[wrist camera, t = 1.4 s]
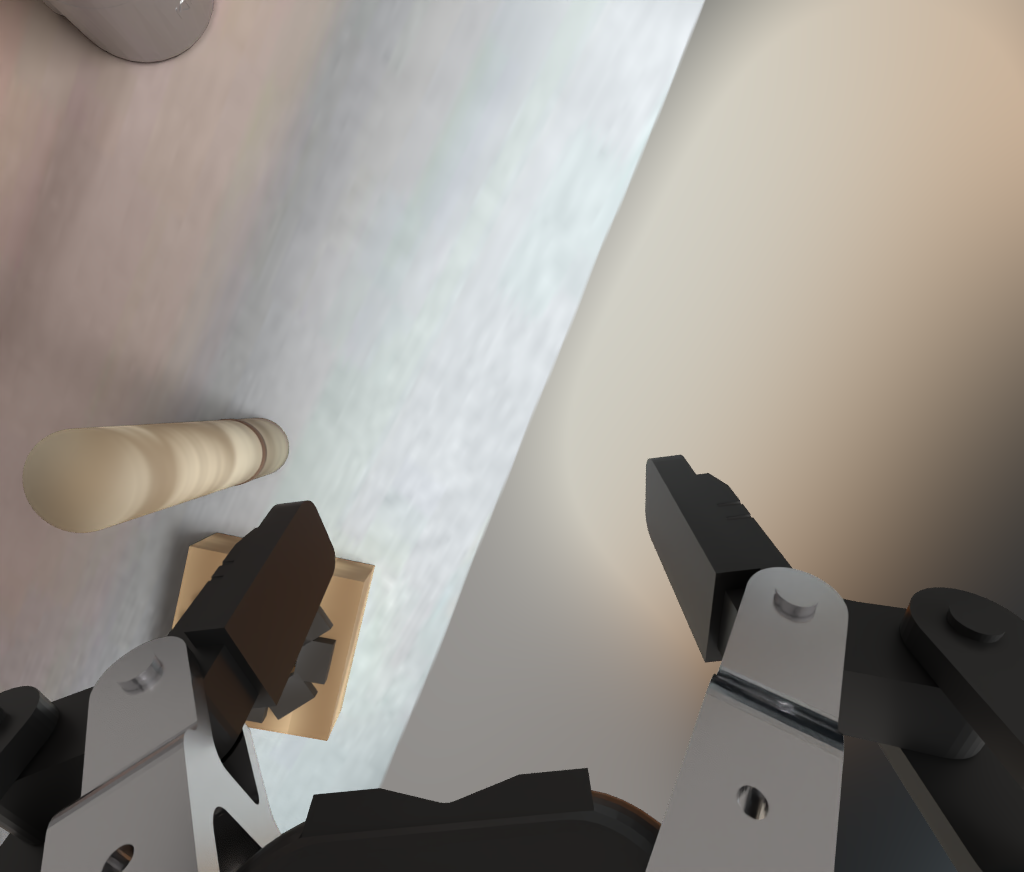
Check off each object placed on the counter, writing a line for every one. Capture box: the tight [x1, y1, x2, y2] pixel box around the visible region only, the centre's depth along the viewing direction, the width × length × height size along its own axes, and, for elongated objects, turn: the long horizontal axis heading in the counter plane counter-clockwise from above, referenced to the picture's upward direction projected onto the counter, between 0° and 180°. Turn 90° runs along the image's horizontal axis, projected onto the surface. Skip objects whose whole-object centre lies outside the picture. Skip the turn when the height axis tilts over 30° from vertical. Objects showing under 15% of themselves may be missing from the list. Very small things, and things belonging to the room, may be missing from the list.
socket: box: [172, 533, 375, 741], centre depth 30 cm, size 11×11×4 cm
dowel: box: [23, 418, 289, 533], centre depth 24 cm, size 4×4×14 cm
